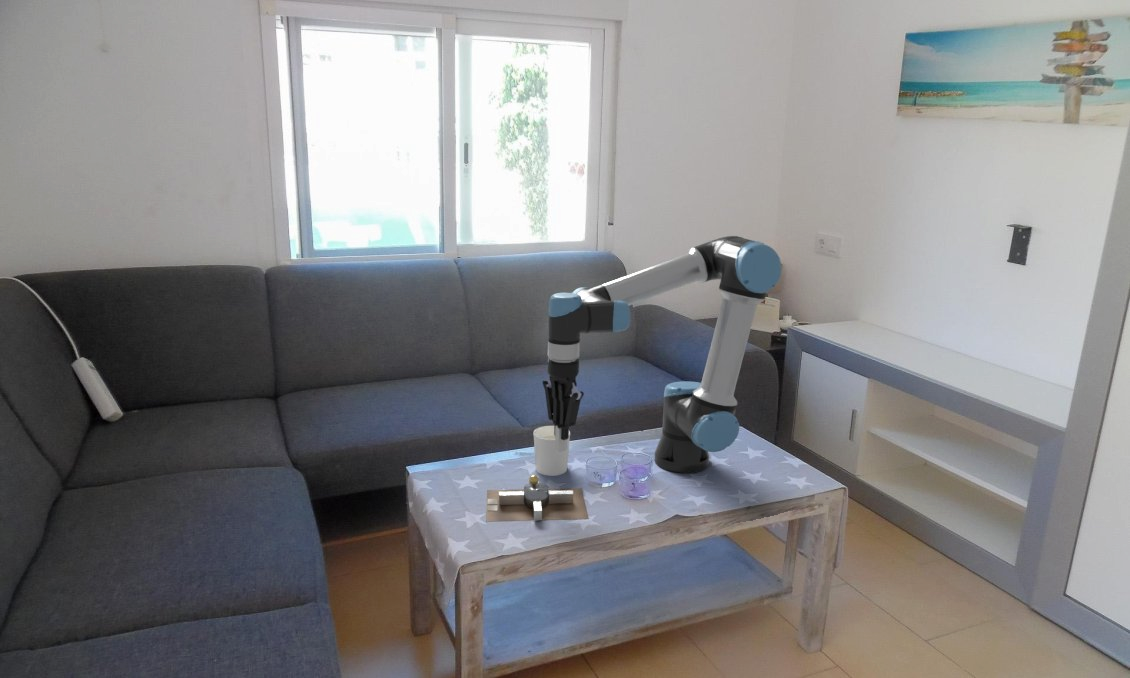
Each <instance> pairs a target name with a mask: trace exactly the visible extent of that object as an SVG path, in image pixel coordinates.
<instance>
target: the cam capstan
mask: <svg viewBox="0 0 1130 678" xmlns="http://www.w3.org/2000/svg"><path fill="white" fill-rule="evenodd" d="M523 489H524V491H520V492H499V505H512V504H524V505H525V506H526V507H528V508H532V509H533V513H534V520H533V521H543V520H542V508H544V507H546V506H547V505H548V503H549V504H554V503H573V497H574V493H573V490H565V491H549V489H550V487H549V485H547V484H545V483H543V482H540V478H539V476H538V475H536V474H531V475H530V476H529V478H528V483H527V484H525V485H524V486H523Z"/></svg>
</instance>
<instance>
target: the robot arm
mask: <svg viewBox="0 0 1130 678" xmlns="http://www.w3.org/2000/svg"><path fill="white" fill-rule="evenodd" d="M781 274H782V261H781V258H780V256H779V254H778V252H777V251H776V250H775V249H774V248H772V247H771V246H770V245H767V244H765V243H764V242H761V241H759V240H758V241H756V240H752V239H747V238H744V237H741V236H737V235H728V236H723V237H720V238H717V239H713V240H709V241H707V242H704V243H702V244H699V245H696V246H694V247H690V248H689V250H688V252H687V253H685V254H682V255H680V256H677V257H675V258H671V259H670V260H667V261H664V262H661V263H657V264H656V265H655V264H654V265H652V266H649V267H647V268H644V269H641V270H638V271H636V272H633V273H630V274H628V275H625V276H621V277H619V278H617V279H614V280H611V281H608V282H606V283H603V284H599V285H596V286H594V287H585V286H583V287H578V288H576V289H575V290H574V291H572V292H557V293H554V294H552V295H551V296H550V298H549V302H548V312H547V313H548V314H547V315H548V339H547V357H548V359H547V371H546V372H547V374H548V375H549V378H548V379H545V380H542V386H543V388H544V394H545V400H546V401H545V402H546V409H547V415H548V420H549V421H552V424H553V426H554V435H555V451H557V452H562V451H565V450H567V439H568V438H569V431H570V428H571V427H574V426H576V423H577V420H578V419H577V418H578V414H579V410H580V404H581V401H582V400H583V399H582V398H583V397H584V394H585V393H584V392H583V391H582V390H581V391H579V389H578V388H577V385H578V384H577V381H576V380H577V379H576V378H577V376H578V375H579V373H580V360H579V357H580V346H581V345H580V342H581V334H601V333H603V334H604V333H605V334H607V333H613V334H614V333H620V332H624V331H626V330H628V328H629V327H630V324H631V310H630V306H633V305H635V304H637V303H640V302H643V301H646V300H649V299H651V298H654V297H656V296H657V297H658V296H660V295H662V294H665V293H667V292H671V291H673V290H675V289H679V288H681V287H683V286H684V287H685V286H686V285H689V284H692V283H693V284H694V283H695V282H700V283H702V284H703V283H706V282H709V281H713V280H715V281H716V280H720V283H719V287H718V291H719V292H720V294H721V295H722V300H721V304H720V307H719V311H718V312H719V313H718V317H717V319H716V324H715V327H714V331H713V334H712V335H713V336H712V339H711V344H710V348H709V351H708V355H707V359H706V363H705V367H704V371H703V375H702V378H701V379H702V380H701V382H697V381H690V380H689V381H686V380H685V381H674V382H670V383H668V384H667V385H665V387H664V393H663V408H662V409H663V410H662V411H663V412H662V431H661V436H660V438H659V440H658V444H657V446H656V448H655V452H654V462H655V464H656V465H657V466H658V467H660V468H661V469H664V470H666V471H670V472H673V473H674V472H675V473H680V474H681V473H682V474H683V473H684V474H685V473H686V474H689V473H690V474H691V473H698V472H702V471H704V470H706V469H707V468H708V467H709V465H710V453H716V452H722V451H724V450H726V449H727V448H728V447H730V446H731V445H733V444H734V442H736V439H737V438H738V435H739V433H740V423H739V421H738V418H737V417H736V416H735V414H736V411H737V410H736V409H737V406H738V400H737V399H736V398H735V396H734V395H735V390H736V385H737V383H738V379H739V374H740V371H741V367H742V363H743V359H744V355H745V352H746V348H747V344H748V341H749V337H750V332H751V329H752V325H753V321H754V318H755V314H756V310H757V306H758V305H759V304H761V303H763V302H764V301H765V300H766V297H767V293H768V292H769V291H771V290H772V289H773V287H776V285H777V284H778V283H779V280H780V279H781V276H782V275H781Z"/></svg>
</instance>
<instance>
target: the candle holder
mask: <svg viewBox="0 0 1130 678" xmlns="http://www.w3.org/2000/svg"><path fill="white" fill-rule="evenodd" d="M532 435H533V443H534V444H533V446H534V447H533V449H534V462H535V463H534V465H535V471H536V473H538V474H539V475H543V476H551V477H552V476H553V477H554V476H555V477H556V476H560V475H563V474H565V473H566V472H567V470H568V464H569V463H568V462H569V450H570V438H571V431H570V430H569V438H568V439H567V450H565V451H562V452H557V451H555V435H554V425H545V426H538V427H537V428H535V429H534V430H533V434H532Z"/></svg>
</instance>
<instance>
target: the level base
mask: <svg viewBox="0 0 1130 678" xmlns="http://www.w3.org/2000/svg"><path fill="white" fill-rule="evenodd" d="M565 490H573V493H574V497H573V503H554V504H549V503H548V505H547V506H546V507H544V508H542V520H541V521H559V520H560V521H562V520H564V521H565V520H568V521H569V520H589V519H590V518H589V514H588V510H587V509H588V508H587V505H586V501H585V500H586V499H585V496H584V493H583V492H584V491H583V487H579V488H578V487H574V488H573V487H571V488H570V487H569V488H549V491H565ZM520 491H524V488H523V489H489V490H486V516H485V517H486V518H485V519H486V520H485V521H486V523H487V522H491V523H492V522H523V521H524V522H525V521H527V522H528V521H535V520H534V513H533V509H532V508H528V507H526V506H525V505H524V504H512V505H499V492H520Z"/></svg>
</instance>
